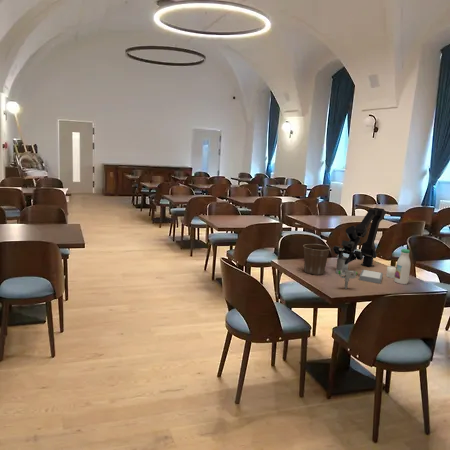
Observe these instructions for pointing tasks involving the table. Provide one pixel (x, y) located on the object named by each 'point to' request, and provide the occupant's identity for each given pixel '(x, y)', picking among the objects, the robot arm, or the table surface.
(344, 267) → the housing
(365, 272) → the stand
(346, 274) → the mechanical component
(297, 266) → the table surface
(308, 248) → the plant pot
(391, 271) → the white short cylinder
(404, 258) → the milk bottle
